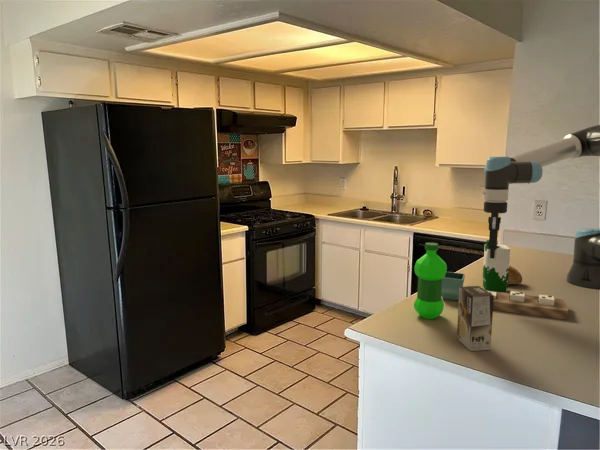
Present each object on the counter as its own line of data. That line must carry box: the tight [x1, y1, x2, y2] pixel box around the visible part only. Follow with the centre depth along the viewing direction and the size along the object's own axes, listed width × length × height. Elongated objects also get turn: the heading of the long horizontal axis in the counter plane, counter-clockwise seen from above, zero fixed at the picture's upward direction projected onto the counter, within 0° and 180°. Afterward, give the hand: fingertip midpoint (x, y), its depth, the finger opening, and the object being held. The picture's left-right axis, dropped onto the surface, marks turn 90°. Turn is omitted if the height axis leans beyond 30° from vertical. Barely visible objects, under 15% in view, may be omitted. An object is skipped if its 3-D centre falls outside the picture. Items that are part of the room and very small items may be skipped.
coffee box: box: [456, 285, 494, 352], centre depth 125 cm, size 9×6×16 cm
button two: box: [538, 294, 555, 306], centre depth 150 cm, size 4×4×4 cm
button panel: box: [486, 290, 569, 320], centre depth 154 cm, size 30×12×3 cm, turn 64°
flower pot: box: [441, 271, 466, 301], centre depth 164 cm, size 9×9×9 cm
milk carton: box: [482, 239, 511, 293], centre depth 172 cm, size 9×9×20 cm
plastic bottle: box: [413, 242, 448, 320], centre depth 145 cm, size 10×10×25 cm
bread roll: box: [507, 265, 523, 285], centre depth 182 cm, size 10×15×8 cm, turn 59°
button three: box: [509, 290, 526, 302], centre depth 154 cm, size 4×4×4 cm
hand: (491, 266), depth 156 cm, fingers closed
